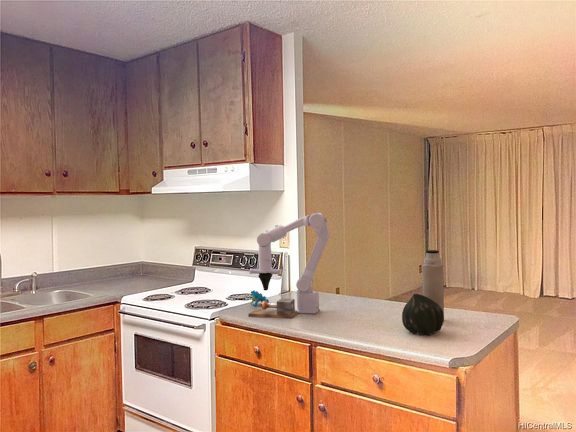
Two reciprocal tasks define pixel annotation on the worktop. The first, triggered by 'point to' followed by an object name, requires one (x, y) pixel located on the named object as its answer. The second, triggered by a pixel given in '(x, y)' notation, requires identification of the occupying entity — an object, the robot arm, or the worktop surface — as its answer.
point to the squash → (422, 315)
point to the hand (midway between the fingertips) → (265, 290)
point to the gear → (258, 297)
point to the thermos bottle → (433, 278)
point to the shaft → (269, 305)
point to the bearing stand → (282, 310)
